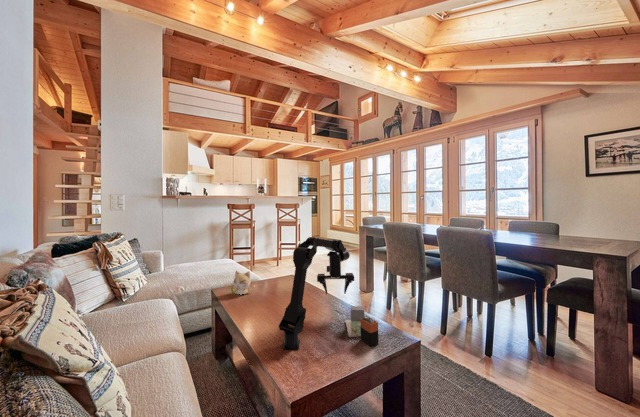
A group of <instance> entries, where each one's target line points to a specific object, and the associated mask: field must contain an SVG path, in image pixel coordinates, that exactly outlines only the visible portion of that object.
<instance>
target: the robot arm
mask: <svg viewBox="0 0 640 417" xmlns="http://www.w3.org/2000/svg"><path fill="white" fill-rule="evenodd" d="M318 247H319V248H320V247H322V248H325V249H326V250H329V252H328V253H327V255H326V256H327V257H328V259H329V260H328V262H329V265H326V273H329V274H328V275H325V273H317V275H316V282H317V283H319V284H321V286H323V289H324V291H325V294H326V295H328V288H327V281H326V280H344V288H343V290H344V291H343V292H344V295H345V294H346V293H347V290H348V287H349V286H350V284H351V283H353V282H354V281H355V275H354V273H353V272H345V274H342V269H341V268H342V266H341V265H342V264H341V263H342V262H345V261H347V260H348V259H350V252H349V251H348V250H347V247H345V246H344V244H343V242H342V239H336V238H328V239H324V238H319V237H314V236H309V237H307V238H306V240H305V241H303V242H302V243H299V244H298V245H297V247H296V248H295V249H294V250H293V254H292V257H293V258H292V262H293V265H294V268H295V269H294V275H293V276H294V277H293V284H292V290H291V296H290V302H289V303H288V305H287V306H286V308H285V309H284V313H283V316H282V318H281V321H280V322H279V324H278V329H279V331H282V332H283V336H284V337H283V339H284V340H283V344H282V350H283V351H284V350H285V351H287V350H289V351H290V350H291V351H292V350H299V349H300V344H301V340H300V339H299V334H300V333H301V332H303V329H304V323H305V319H306V315H307V314H306V313H307V308H306V307H304V305H303V300H304V292H305V284H306V279H307V271H308V268H310V266H311V264H312V263H313V258H314V256H315V255H316V254H317V251H318Z"/></svg>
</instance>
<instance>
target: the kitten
mask: <svg viewBox="0 0 640 417" xmlns="http://www.w3.org/2000/svg"><path fill="white" fill-rule="evenodd" d="M234 273H235V274H234V279H233V285H232V286H231V288H230V291H231V294H232V293H233V292H234V293H235V292H236V291H237V292H236V295H237V294H240V295H242V294H244V295H246V294H248V293H250V292H252V291H253V290H254V289H255V288H256V285H255V284H253V285H252V286H251V283H252V282H251V271H250V270H249V271H246V272H241V273H240V272H239V271H238V270H235V272H234ZM250 286H251V288H250V289H248V288H249V287H250ZM233 288H236V290H234V289H233ZM240 295H239V296H240ZM242 296H243V295H242Z"/></svg>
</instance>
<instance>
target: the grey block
mask: <svg viewBox="0 0 640 417" xmlns="http://www.w3.org/2000/svg"><path fill="white" fill-rule="evenodd" d="M364 316H365V306H356V305H355V306H352V305H351V306H350V320H351V327H360V328H361V326H360V319H361V318H364Z"/></svg>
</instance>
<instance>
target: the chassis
mask: <svg viewBox="0 0 640 417" xmlns="http://www.w3.org/2000/svg"><path fill="white" fill-rule="evenodd" d="M345 326H346V331H347V335H348V337H349V338H350V337H351V338H352V337H361V328H360V327H351V319H345Z"/></svg>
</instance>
